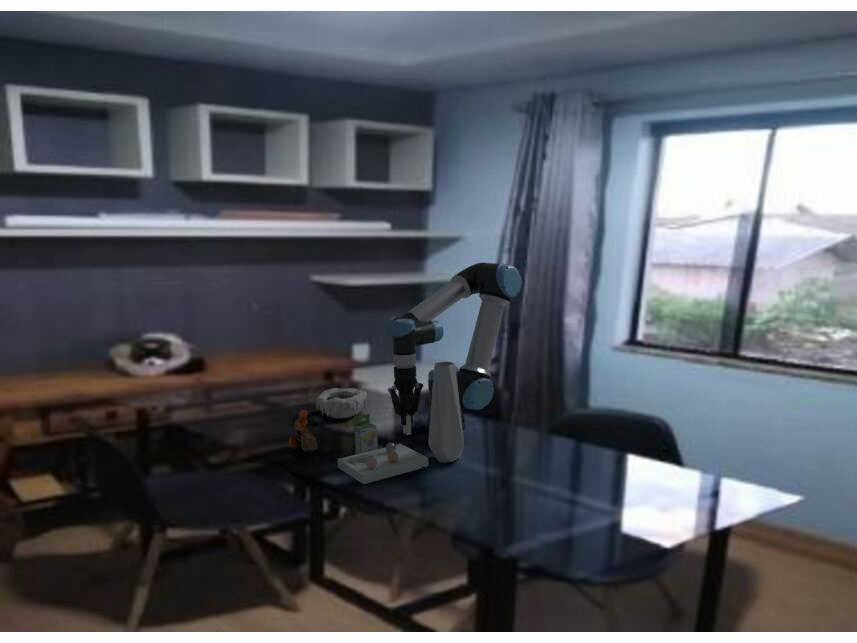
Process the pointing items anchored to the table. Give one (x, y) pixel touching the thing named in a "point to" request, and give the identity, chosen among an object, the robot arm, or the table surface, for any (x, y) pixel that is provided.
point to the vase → (445, 414)
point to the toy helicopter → (303, 434)
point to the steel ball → (390, 447)
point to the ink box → (365, 435)
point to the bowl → (341, 402)
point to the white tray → (382, 464)
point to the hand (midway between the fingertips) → (407, 433)
